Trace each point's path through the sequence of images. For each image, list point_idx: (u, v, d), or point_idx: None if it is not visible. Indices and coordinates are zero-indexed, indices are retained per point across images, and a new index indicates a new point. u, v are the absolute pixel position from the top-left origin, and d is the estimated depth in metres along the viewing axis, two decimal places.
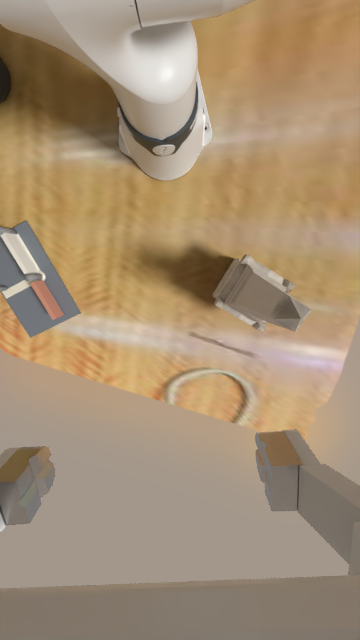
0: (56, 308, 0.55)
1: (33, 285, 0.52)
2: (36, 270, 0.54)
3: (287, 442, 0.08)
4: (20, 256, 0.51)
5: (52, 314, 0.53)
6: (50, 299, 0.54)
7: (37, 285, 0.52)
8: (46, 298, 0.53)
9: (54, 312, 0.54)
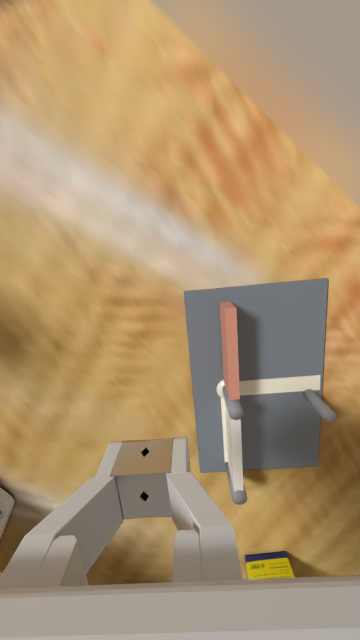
0: (222, 324, 0.23)
1: (234, 393, 0.23)
2: (225, 403, 0.27)
3: (169, 449, 0.08)
4: (230, 445, 0.25)
5: (229, 320, 0.21)
6: (224, 348, 0.24)
7: (228, 389, 0.23)
8: (226, 356, 0.23)
9: (224, 322, 0.21)
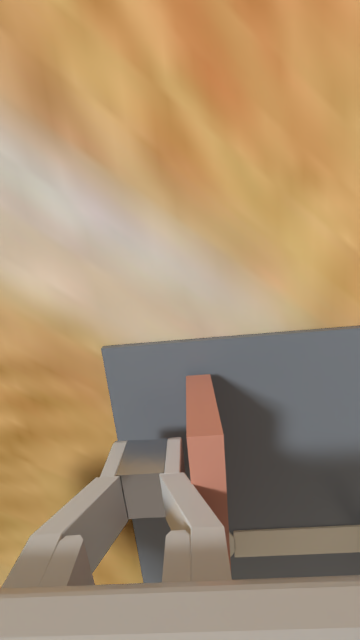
0: None
1: None
2: None
3: (163, 450, 0.08)
4: None
5: (201, 468, 0.07)
6: None
7: None
8: None
9: (189, 466, 0.07)
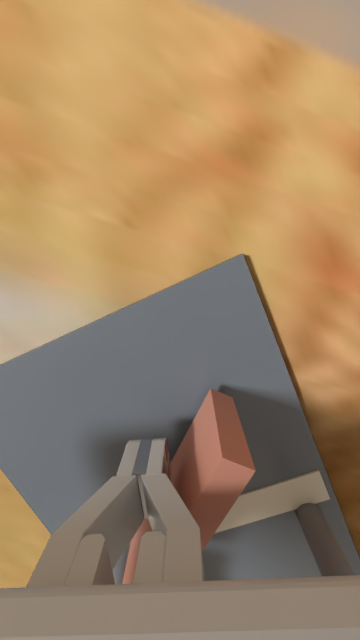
0: (190, 452, 0.09)
1: None
2: None
3: (146, 451, 0.08)
4: None
5: (216, 489, 0.07)
6: None
7: None
8: None
9: (201, 481, 0.07)
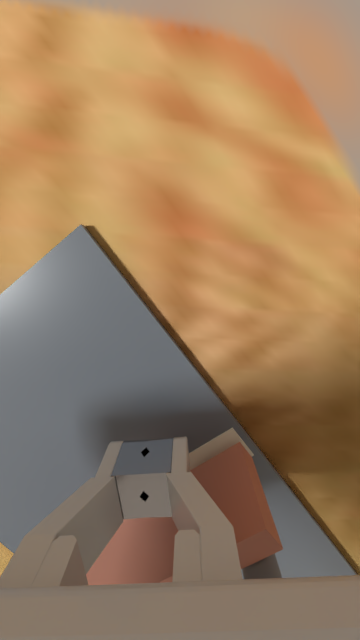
0: None
1: None
2: None
3: (169, 449, 0.08)
4: None
5: (242, 550, 0.07)
6: (155, 528, 0.10)
7: None
8: (143, 564, 0.09)
9: None
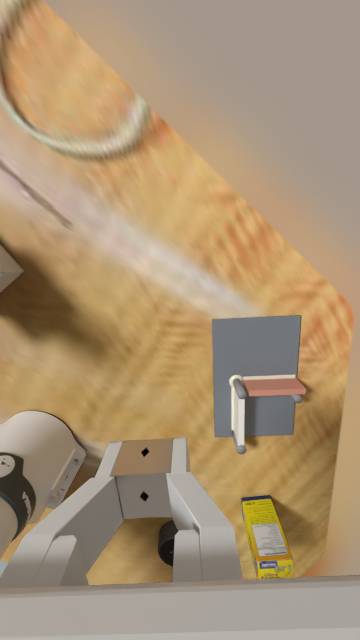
0: (287, 382, 0.40)
1: (253, 393, 0.38)
2: (234, 390, 0.42)
3: (169, 449, 0.08)
4: (237, 416, 0.40)
5: (299, 390, 0.38)
6: (274, 384, 0.40)
7: (254, 389, 0.39)
8: (273, 387, 0.39)
9: (296, 387, 0.38)
